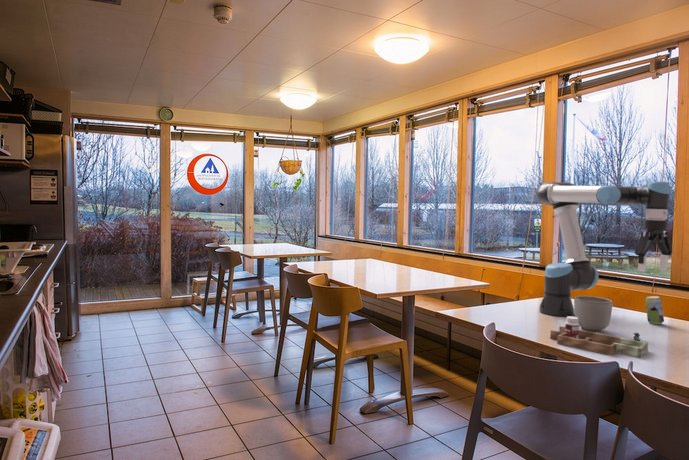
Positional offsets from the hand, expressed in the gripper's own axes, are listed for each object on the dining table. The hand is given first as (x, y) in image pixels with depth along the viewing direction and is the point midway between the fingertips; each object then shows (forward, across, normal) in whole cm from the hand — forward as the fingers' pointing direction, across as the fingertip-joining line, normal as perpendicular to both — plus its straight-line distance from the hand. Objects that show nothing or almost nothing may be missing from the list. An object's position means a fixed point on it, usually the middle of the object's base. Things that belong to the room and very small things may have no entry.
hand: (652, 271), depth 195 cm
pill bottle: (+25, -43, +1) cm, 50 cm away
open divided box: (+25, -42, -8) cm, 50 cm away
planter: (+25, -24, +8) cm, 36 cm away
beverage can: (+25, +14, +7) cm, 29 cm away
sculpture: (+25, -23, -11) cm, 36 cm away
